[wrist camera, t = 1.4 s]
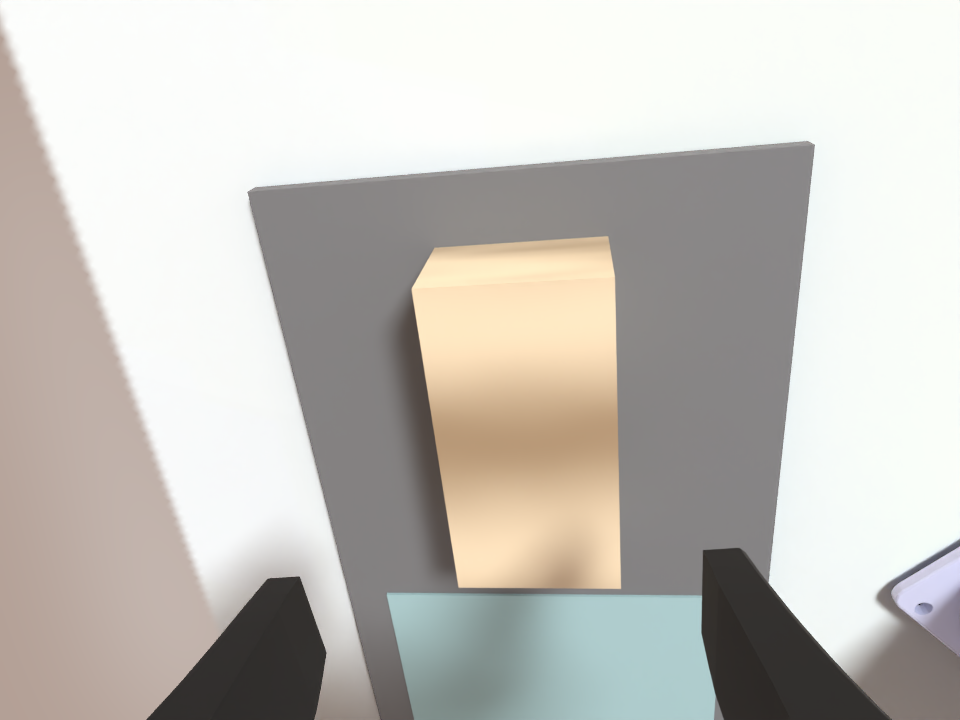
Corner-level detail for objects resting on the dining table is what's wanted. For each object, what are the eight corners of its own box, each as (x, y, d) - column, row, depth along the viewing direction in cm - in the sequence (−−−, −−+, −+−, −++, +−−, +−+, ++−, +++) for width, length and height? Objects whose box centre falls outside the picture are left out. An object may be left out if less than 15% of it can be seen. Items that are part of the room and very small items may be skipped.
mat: (743, 774, 27) (747, 789, 27) (396, 758, 29) (392, 772, 29) (808, 141, 16) (816, 145, 16) (255, 187, 19) (246, 192, 18)
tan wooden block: (614, 517, 22) (620, 588, 19) (471, 518, 22) (458, 587, 20) (608, 236, 18) (615, 277, 15) (434, 247, 18) (411, 288, 16)
